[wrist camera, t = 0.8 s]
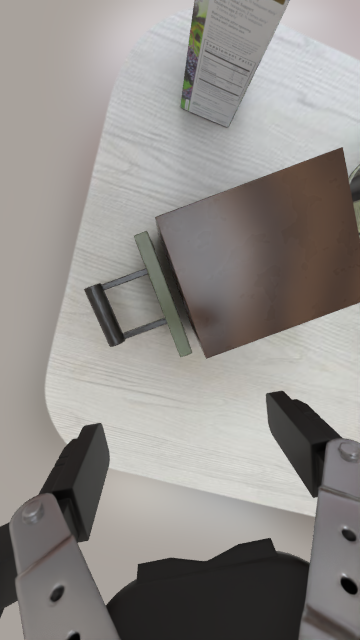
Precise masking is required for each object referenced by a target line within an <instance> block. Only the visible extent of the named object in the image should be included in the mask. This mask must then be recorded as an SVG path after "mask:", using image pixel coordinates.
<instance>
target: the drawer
mask: <svg viewBox="0 0 360 640" xmlns="http://www.w3.org/2000/svg"><path fill="white" fill-rule="evenodd" d="M134 238H135V241H136V243H137V246H138V248H139V251H140V254H141V256H142V259H143V261H144V264H145V267H146V268H145V269H143V270H140V271H137V272H135V273H132V274H129V275H127V276H124V277H121V278H119V279H116V280H113V281H110V282H108V283H105V284H101V283H99V284H96V285H93V286H91V287H88V288H86V289H84V290H85V293H86V295H87V297H88V299H89V302H90V304H91V306H92V308H93V311H94V313H95V315H96V317H97V319H98V322H99V324H100V326H101V328H102V331H103V333H104V335H105V337H106V339H107V342H108V344H109V346H110V347H113V346H116V345H119V344H121V343H123V342H124V341H125V339H126V338H129V337H132V336H134V335H137V334H140V333H143V332H145V331H148V330H151V329H153V328H156V327H159V326H162V325H164V324H168V326H169V329H170V332H171V334H172V337H173V339H174V342H175V344H176V347H177V350H178V352H179V355H180V357H183V356H186V355H189V354H191V353H192V350H191V347H190V344H189V341H188V338H187V336H186V333H185V330H184V327H183V324H182V322H181V319H180V316H179V314H178V311H177V308H176V306H175V303H174V300H173V297H172V295H171V292H170V289H169V287H168V284H167V281H166V279H165V276H164V273H163V271H162V268H161V265H160V262H159V260H158V257H157V254H156V252H155V249H154V246H153V244H152V241H151V239H150V237H149V234H148V232H147V231H145V232H143V233H140V234H137V235H135V236H134ZM147 274H149V277H150V280H151V282H152V285H153V287H154V290H155V293H156V295H157V298H158V300H159V303H160V306H161V308H162V311H163V313H164V316H165V318H162V319H160V320H157V321H154V322H151V323H149V324H146V325H143V326H141V327H138V328H135V329H132V330H130V331H127V332H124V333H123V332H122V330H121V328H120V326H119V323H118V321H117V319H116V316H115V314H114V312H113V309H112V307H111V305H110V302H109V300H108V298H107V295H106V293H105V291H104V290H106V289H109V288H112V287H114V286H117V285H120V284H123V283H125V282H128V281H131V280H133V279H136V278H139V277H141V276H144V275H147Z"/></svg>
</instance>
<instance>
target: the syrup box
mask: <svg viewBox="0 0 360 640" xmlns="http://www.w3.org/2000/svg"><path fill="white" fill-rule="evenodd" d="M289 1H290V0H195V1H194V8H193V16H192V23H191V30H190V38H189V46H188V53H187V60H186V68H185V76H184V83H183V91H182V98H181V108H183V109H185V110H187V111H190V112H192V113H194V114H197V115H199V116H201V117H204V118H206V119H208V120H211V121H213V122H216V123H218V124H220V125H223V126H225V127H229V125H230V123H231V121H232V119H233V117H234V115H235V113H236V111H237V109H238V107H239V104H240V102H241V100H242V98H243V96H244V94H245V92H246V90H247V88H248V86H249V84H250V82H251V80H252V78H253V75H254V73H255V71H256V69H257V67H258V65H259V63H260V61H261V59H262V57H263V55H264V53H265V51H266V49H267V47H268V45H269V43H270V41H271V39H272V37H273V35H274V33H275V30H276V28H277V26H278V24H279V22H280V20H281V18H282V16H283V14H284V11H285V9H286V7H287V5H288V3H289Z"/></svg>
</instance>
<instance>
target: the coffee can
mask: <svg viewBox="0 0 360 640" xmlns="http://www.w3.org/2000/svg"><path fill="white" fill-rule="evenodd" d="M349 184H350V189H351V195H352V200H353V205H354V211H355V216H356V221H357V226H358V232H359V237H360V165H359V166H358V167H357V168H356V169H355V171H354V172H353V173H352V174H351V176H350V178H349Z"/></svg>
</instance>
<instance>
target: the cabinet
mask: <svg viewBox="0 0 360 640" xmlns="http://www.w3.org/2000/svg"><path fill="white" fill-rule="evenodd" d="M155 218H156V224H157V230H158V235H159V238H160V241H161V244H162V246H163V249H164V252H165V255H166V257H167V260H168V263H169V266H170V268H171V271H172V274H173V277H174V279H175V282H176V285H177V288H178V290H179V293H180V296H181V299H182V301H183V304H184V307H185V310H186V312H187V315H188V318H189V321H190V323H191V326H192V329H193V332H194V334H195V336H196V338H197V340H198V342H199V344H200V346H201V349H202V351H203V353H204V355H205V357H206V359H207V358H210V357H212V356H215V355H218V354H221V353H223V352H226V351H229V350H231V349H234V348H237V347H240V346H242V345H245V344H248V343H251V342H253V341H256V340H259V339H261V338H264V337H267V336H270V335H272V334H275V333H278V332H281V331H283V330H286V329H289V328H291V327H294V326H297V325H300V324H302V323H305V322H308V321H310V320H313V319H316V318H319V317H321V316H324V315H327V314H330V313H332V312H335V311H338V310H340V309H343V308H346V307H349V306H351V305H354V304H357V303H359V302H360V237H359V232H358V226H357V221H356V216H355V211H354V205H353V200H352V195H351V189H350V184H349V179H348V173H347V168H346V163H345V157H344V152H343V147H341V148H339V149H336V150H333V151H331V152H328V153H325V154H323V155H320V156H317V157H315V158H312V159H309V160H307V161H304V162H301V163H299V164H296V165H293V166H291V167H288V168H285V169H283V170H280V171H277V172H275V173H272V174H269V175H267V176H264V177H261V178H259V179H256V180H253V181H251V182H248V183H245V184H243V185H240V186H237V187H235V188H232V189H229V190H227V191H224V192H221V193H219V194H216V195H213V196H210V197H208V198H205V199H202V200H200V201H197V202H194V203H192V204H189V205H186V206H184V207H181V208H178V209H176V210H173V211H170V212H168V213H165V214H162V215H160V216H157V217H155Z"/></svg>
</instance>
